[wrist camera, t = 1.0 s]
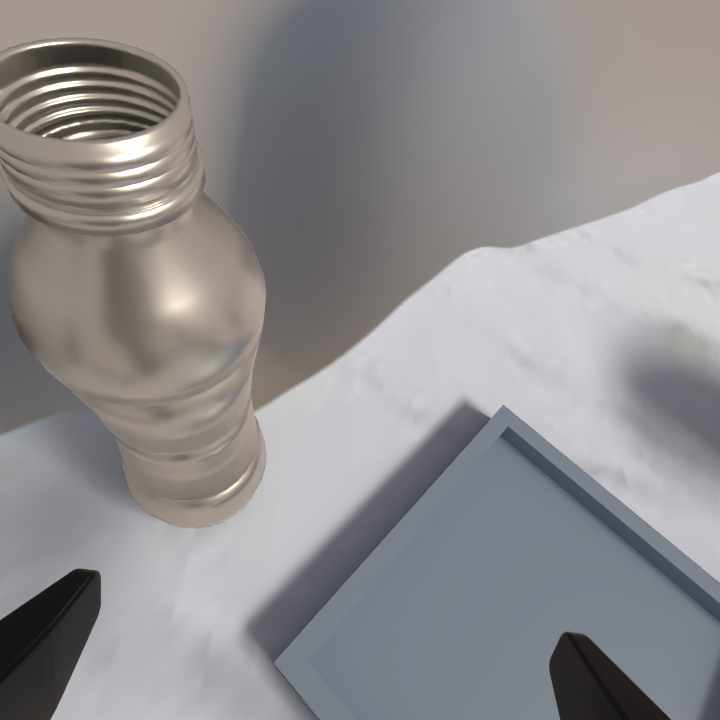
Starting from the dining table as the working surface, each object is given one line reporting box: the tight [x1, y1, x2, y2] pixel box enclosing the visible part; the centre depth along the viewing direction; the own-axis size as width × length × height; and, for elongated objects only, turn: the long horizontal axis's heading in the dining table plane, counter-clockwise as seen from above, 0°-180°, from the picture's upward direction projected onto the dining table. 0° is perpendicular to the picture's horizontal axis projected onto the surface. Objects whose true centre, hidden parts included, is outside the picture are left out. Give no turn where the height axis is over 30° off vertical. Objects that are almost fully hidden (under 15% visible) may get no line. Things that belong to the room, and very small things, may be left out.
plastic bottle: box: [0, 38, 266, 528], centre depth 17 cm, size 6×7×20 cm
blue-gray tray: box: [273, 405, 720, 720], centre depth 22 cm, size 18×18×2 cm
